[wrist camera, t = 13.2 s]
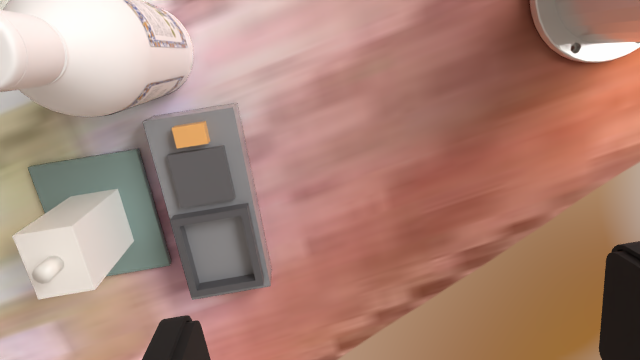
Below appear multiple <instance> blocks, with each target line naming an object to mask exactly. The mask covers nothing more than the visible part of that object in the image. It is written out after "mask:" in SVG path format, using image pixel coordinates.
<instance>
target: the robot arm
mask: <svg viewBox="0 0 640 360" xmlns="http://www.w3.org/2000/svg"><path fill="white" fill-rule="evenodd" d="M530 8H531V14H532V17H533V21H534V24H535V27H536V29H537V31H538V32H539V34H540V36H541V38H542V39H543V40H544V41H545V43H546V44H547V45H548V46H549V47H550V48H551V49H552V50H554V51H555V52H556V53H558V54H559V55H561V56H563V57H565V58H568V59H570V60H573V61H579V62H595V63H599V62H606V61H612V60H615V59H617V58H620V57H623V56H626V55H627V54H629V53H631V52H633V51H634V50H636V49H638V48H639V47H640V0H530ZM599 352H600V356H601V358H602V360H640V241H639V242H633V243H626V244H621V245H617V246H615V247H614V248H613V249H612V253H609V254H608V256H607V259H606V269H605V281H604V294H603V306H602V318H601V332H600V343H599ZM142 360H210V356H209V352H208V349H207V345H206V342H205V338H204V335H203V331H202V327H201V324H200V322H199V321H192V319H191V318H190V316H188V315H187V316H180V317H174V318H168V319H163V320H161V322H160V323H159V325H158V327H157V330H156V332H155V334H154V336H153V338H152V340H151V342H150V344H149V346H148V348H147V350H146V352H145V355H144V357H143V359H142Z"/></svg>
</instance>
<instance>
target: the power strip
mask: <svg viewBox="0 0 640 360" xmlns="http://www.w3.org/2000/svg"><path fill="white" fill-rule="evenodd" d="M143 125H144V129H145V132H146V136H147V139H148V143H149V146H150V150H151V154H152V157H153V161H154V164H155V168H156V171H157V175H158V179H159V182H160V186H161V189H162V193H163V197H164V200H165V204H166V207H167V211H168V214H169V218H170V223H171V226H172V230H173V233H174V237H175V241H176V244H177V248H178V251H179V255H180V258H181V262H182V266H183V269H184V273H185V276H186V280H187V284H188V287H189V291H190V294H191V298H192V300H194V299H200V298H205V297H211V296H217V295H223V294H228V293H234V292H240V291H246V290H251V289H257V288H263V287H268V286H271V272H272V269H271V264H270V259H269V254H268V249H267V244H266V239H265V235H264V230H263V225H262V220H261V215H260V210H259V205H258V201H257V196H256V191H255V186H254V181H253V176H252V171H251V167H250V162H249V157H248V152H247V147H246V142H245V137H244V133H243V128H242V123H241V118H240V113H239V108H238V103H233V104H227V105H221V106H214V107H208V108H202V109H195V110H189V111H183V112H176V113H170V114H164V115H157V116H153V117H151V118H149V119H147V120H145V121H143Z"/></svg>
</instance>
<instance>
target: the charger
mask: <svg viewBox="0 0 640 360" xmlns="http://www.w3.org/2000/svg"><path fill="white" fill-rule="evenodd" d="M12 237H13V239H14V242H15V244H16V246H17V249H18V251H19V254H20V256H21V259H22V261H23V264H24V266H25V268H26V271H27V273H28V276H29V278H30V281H31V283H32V285H33V288H34V290H35V293H36V295H37V298H38V299H44V298H50V297H56V296H62V295H67V294H73V293H79V292H85V291H91V290H95V289H96V288H97V287H98V286H99V284H100V283H101V282H102V281H103V279H104V278H105V277H106V276H107V274H108V273H109V272H110V270H111V269H112V268H113V267H114V265H115V264H116V263H117V262H118V260H119V259H120V258H121V257H122V255H123V254H124V253H125V252H126V250H127V249H128V248H129V247H130V245H131V244H132V243H133V242H134V239H133V236H132V233H131V230H130V226H129V223H128V220H127V217H126V214H125V210H124V207H123V204H122V201H121V198H120V194H119V191H118V189H113V190H107V191H100V192H94V193H88V194H82V195H76V196H71V197H69V198H68V199H66V200H65V201H63V202H62V203H60V204H59V205H57V206H56V207H54V208H53V209H51V210H50V211H48V212H47V213H45V214H44V215H42V216H41V217H39V218H38V219H36V220H35V221H33V222H32V223H30V224H29V225H27V226H26V227H24V228H23V229H22V230H20V231H19V232H17V233H16V234H14V235H13V236H12Z"/></svg>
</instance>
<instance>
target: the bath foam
mask: <svg viewBox="0 0 640 360" xmlns="http://www.w3.org/2000/svg"><path fill="white" fill-rule="evenodd" d="M193 59H194V53H193V46H192V42H191V39H190V37H189V34H188V32H187V31H186V29H185V28H184V26H183V25H182V24H181V22H180V21H179V20H178V19H177V18H176V17H174V16H173V15H172V14H171V13H169V12H167V11H166V10H164V9H162V8H159V7H157V6H154V5H152V4H149V3H147V2H144V1H141V0H10V1H9V2H8V3H7V4H6V6H5V7H4V9H3V10H0V92H5V91H12V90H20V91H21V92H22V93H23V94H24V95H26V96H27V97H28V98H30V99H31V100H33V101H34V102H36V103H37V104H39V105H41V106H43V107H45V108H48V109H50V110H53V111H55V112H58V113H62V114H67V115H72V116H80V117H98V116H106V115H111V114H114V113H117V112H120V111H123V110H125V109H128V108H131V107H134V106H136V105H139V104H142V103H145V102H148V101H150V100H153V99H156V98H159V97H162V96H164V95H166V94H169V93H171V92H173V91H175V90H176V89H178V88H179V87H180V86H181V85H182V84H183V83H184V82H185V81H186V79H187V78H188V76H189V74H190V72H191V69H192V66H193Z"/></svg>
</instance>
